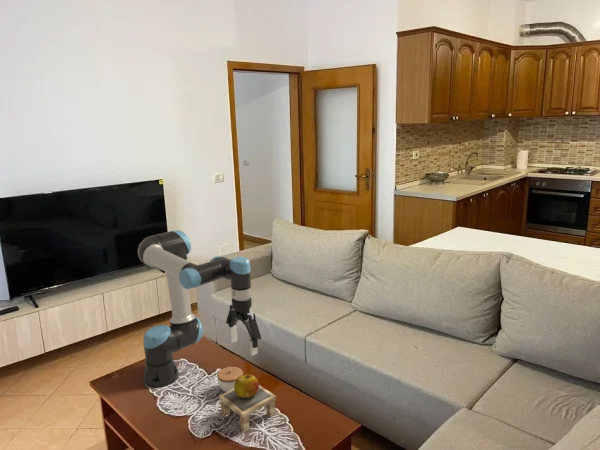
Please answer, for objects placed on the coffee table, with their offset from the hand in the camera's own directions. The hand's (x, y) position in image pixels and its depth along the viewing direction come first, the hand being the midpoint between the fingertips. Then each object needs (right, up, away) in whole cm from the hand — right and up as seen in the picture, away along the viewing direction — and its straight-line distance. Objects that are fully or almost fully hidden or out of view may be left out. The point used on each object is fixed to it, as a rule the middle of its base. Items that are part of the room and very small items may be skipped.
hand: (243, 347), depth 181 cm
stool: (+2, -26, -1) cm, 26 cm away
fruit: (+2, -18, -3) cm, 18 cm away
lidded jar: (-7, -22, +16) cm, 29 cm away
